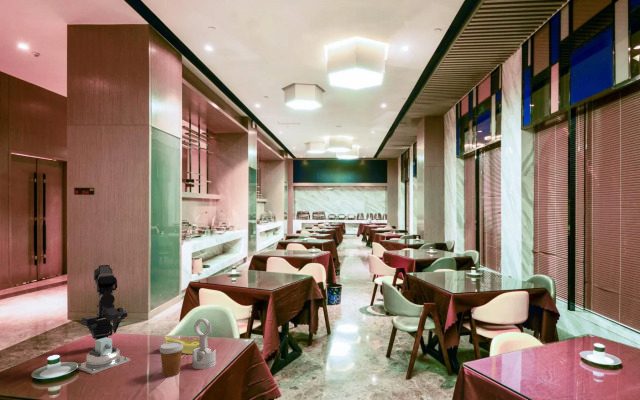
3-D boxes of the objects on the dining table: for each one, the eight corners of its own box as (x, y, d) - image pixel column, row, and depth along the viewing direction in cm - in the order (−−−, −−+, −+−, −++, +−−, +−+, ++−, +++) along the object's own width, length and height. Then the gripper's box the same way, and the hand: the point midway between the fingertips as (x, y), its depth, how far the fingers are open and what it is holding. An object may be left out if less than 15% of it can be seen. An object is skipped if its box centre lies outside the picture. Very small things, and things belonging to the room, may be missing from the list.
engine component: (204, 370, 159) (220, 362, 168) (205, 322, 160) (220, 317, 169) (186, 366, 164) (202, 358, 173) (186, 320, 165) (202, 314, 174)
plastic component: (207, 341, 191) (202, 338, 182) (204, 356, 187) (198, 354, 178) (169, 338, 191) (162, 335, 182) (165, 353, 187) (158, 351, 179)
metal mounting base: (75, 367, 163) (75, 352, 163) (113, 355, 178) (113, 341, 178) (91, 374, 156) (92, 358, 156) (130, 360, 170) (130, 346, 171)
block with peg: (94, 353, 166) (95, 340, 166) (106, 350, 170) (106, 337, 171) (103, 356, 163) (103, 342, 163) (114, 353, 167) (114, 339, 167)
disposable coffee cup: (168, 380, 149) (168, 350, 150) (154, 375, 154) (154, 346, 155) (187, 372, 157) (188, 343, 158) (173, 367, 162) (174, 340, 163)
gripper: (94, 308, 159) (92, 345, 159) (134, 300, 175) (133, 333, 175) (80, 305, 165) (79, 340, 164) (121, 297, 181) (120, 329, 180)
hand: (104, 335), depth 171 cm, fingers open, 9 cm apart
